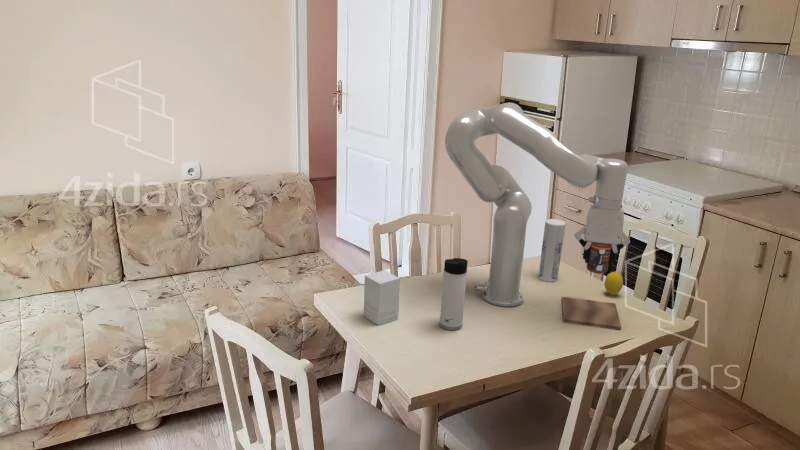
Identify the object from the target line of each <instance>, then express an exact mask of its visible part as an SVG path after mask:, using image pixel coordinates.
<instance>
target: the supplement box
mask: <svg viewBox="0 0 800 450" xmlns="http://www.w3.org/2000/svg"><path fill="white" fill-rule="evenodd" d="M400 286H401V278H400V277H398V276H396V275H394V274H392V273H391V272H389V271H387V270H381V271H377V272H373V273H369V274H365V275H364V287H363V288H364V292H363V317H365V318H366V319H368V320H369V321H370V322H372V323H374V324H375V325H377V326H379V325H384V324H387V323H390V322H394V321H396V320H397V321H398V320H399V307H400V305H399V304H400Z"/></svg>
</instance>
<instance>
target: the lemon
mask: <svg viewBox="0 0 800 450" xmlns="http://www.w3.org/2000/svg"><path fill="white" fill-rule="evenodd" d="M623 285H624V278H623V276H622V274H620V273H619V272H617V271H611V272H610V273H608V274H607V275H606V277H605V280H604V288H605V290H606V291H607V292H608V293H609V294H610V295H611V296H613V295H615V294H618V293H620V292H621V290H622V289H623Z"/></svg>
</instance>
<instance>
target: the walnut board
mask: <svg viewBox="0 0 800 450" xmlns="http://www.w3.org/2000/svg"><path fill="white" fill-rule="evenodd" d="M561 310H562V312H561V313H562V322H563V323H567V324H573V325H574V324H575V325H582V326H589V327H596V328H604V329H611V330H612V329H613V330H618V331H621V330H622V323H621V319H620V316H619V312H618V308H617V304H616V303H614V302H608V301H599V300H592V299H591V300H590V299H584V298H577V297H568V296H561Z"/></svg>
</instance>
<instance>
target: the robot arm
mask: <svg viewBox="0 0 800 450" xmlns="http://www.w3.org/2000/svg"><path fill="white" fill-rule="evenodd" d="M496 134H498V135H499V136H501V137H503V138H505V139H506V140H508V141H509V142H510V143H512V144H514V145H515V146H517V147H518V148H520V149H522V151H525V152H527V153H528V154H530V155H531V156H533V157H534V158H535V160H537V161H538V162H540V164H542V165H543V166H544V167H545V168H547V169H548V170H549V171H550V172H552V173H553V174H555V175H556V176H558V177H560V178H561V179H563V180H564V181H565V182H568V183H569V184H572V185H573V186H575V187H577V188H587V187H589V186H591V185H592V184H594V183H595V182H596V183H595V191H594V194H593V196H591V197H589V196H588V203H591V205H590V206H589V209H588V212H587V216H586V220H585V225H584V226H582V227H581V228H580V229H579V230H577V231H576V232H575V233H574V235H573V236H574V238H575V240H577V242H578V243H580V245H581V247H583V254H582V255H583V256H582V259H583V260H584V262H585V264H587V263H588V260H589V253H590V249H589V248H590V245H591V243H592V242H594V243H602V244H611V245H612V247H611V253H610V259H609V265H608V266H609V267H612V265H613V263H615V261H616V260H615V259H616V257H617V256H616V255H617V254H618V252H619V251H620V250H622V249H623V248H624V247H626V246H627V245H629V244H630V243H631V240H630V238H629V237H628V236H627V235H626V234H625V232H624V223H625V222H624V221H625V220H624V219H625V212H624V211H625V210H624V209H623V208H622V204H623V199H624V194H625V193H624V191H625V187H626V186H625V185H626V180H627V173H628V170H629V169H628V166H629V165H628V164H627V162H626V161H625V160H622V159H617V158H611V157H610V158H609V157H608V158H604V157H600V156H596V155H592V154H587V153H586V154H585V153H584V154H579V155H577V154H576V153H574V152H573V151H571V150H569V148H567V146H564V145H563V144H562V143H561V141H560V140H558V139H557V137H556V135H555V134H554V133H553V132H552V131H551V129H549V128H548V127H547V126H544V125H542V124H541V123H539V121H536V120H535V119H533V118H531V117H530V116H528V115H526V113H524V110H523V108H522V107H521V106H519V105H518V104H516V103H514V102H504V103H500V104H495V105H490V106H486V107H481V108H475V109H471V110H467V111H465V112H463V113H461V114H460V115H458V116H456V117H455V118H453V120H452V121H451V122H450V124H449V125H448V128H447V130H446V133H445V137H444V145H445V146H444V147H445V151H446V153H447V155H448V157H449V159H450V160H451V161H452V163H453V165H454V166H455V167H456V168H457V170H458V171H459V172H460V174H461V175H462V177H463V178H464V180H465V181H466V182H467V184H468V185H469V186H470V187H471V189H472V190H473V191H474V193H475V195H477V197H478V198H479V199H480V200H482V201H483V202H485V203H494V204H495V205H496V207H497V208H496V210H495V212H494V215H493V222H492V223H493V227H492V229H493V230H492V243H491V244H492V246H491V254H490V264H489V265H490V266H489V274H488V279H487V281H484V282H480V281H473V288H475V289H476V291H480V292H481V291H482V294H481V295H482V296H481V297H482V299H483V300H484V301H486V302H487V303H488V304H491V305H495V306H499V307H507V308H508V307H509V308H510V307H516V306H519V305H521V304H522V303H523V302H524V295H523V294H522V293H521V292H520V287H521V278H522V270H523V262H524V254H525V253H524V252H525V244H526V232H527V231H526V230H527V225H528V221H529V218H530V216H531V213H532V209H533V208H532V203H531V199H529V198H530V197H528V195H527V194H526V193H525V191H524V190H523V189H522V187H521V186H520V185H519V183H518V182H517V180H516V179H515V178H514V177H513V175H512V174H511V173H510V172H509V171H508V169H506V168H505V167H503V166H501V165H497V164H491V163H490V161H489V160H488V159H487V157H486V156H485V155H484V154H483V152H481V150H480V149H479V148H478V147H477V146H476V143H475V142H476V140H477V139H479V138H481V137H484V136H485V137H486V136H491V135H496ZM582 236H584V238H583V237H582Z"/></svg>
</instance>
